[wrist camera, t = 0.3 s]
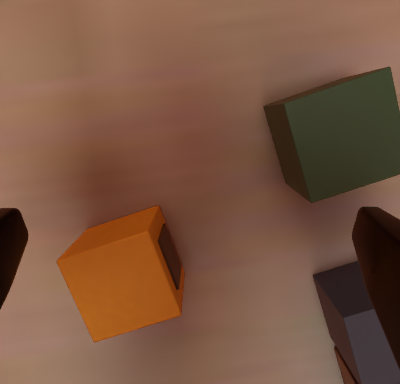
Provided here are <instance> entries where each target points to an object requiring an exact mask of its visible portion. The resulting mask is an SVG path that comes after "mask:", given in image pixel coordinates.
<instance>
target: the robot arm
mask: <svg viewBox="0 0 400 384" xmlns="http://www.w3.org/2000/svg"><path fill="white" fill-rule="evenodd" d="M352 240H353V244H354V247H355V251H356V254H357V258H358V261H359V265H360V269H361V272H362V276H363V279H364V283H365V286H366V289H367V292H368V295H369V297H370V300H371V302H372V305H373V307H374V310H375V312H376V314H377V317H378V319H379V322H380V324H381V327H382V329H383V331H384V334H385V336H386V339H387V341H388V343H389V346H390V348H391V351H392V353H393V355H394V358H395V360H396V363H397V365H398V368H399V370H400V220H399V219H398V218H396V217H394V216H392V215H391V214H389V213H387V212H385V211H384V210H382V209H380V208H378V207H362V208H360V209H359V211H358V214H357V217H356V221H355V224H354V228H353V232H352ZM27 241H28V230H27V228H26V225H25V223H24V220H23V217H22V215H21V212H20V211H19V210H18V209H16V208H1V209H0V309H1V307H2V305H3V303H4V301H5V299H6V297H7V295H8V292H9V290H10V288H11V285H12V283H13V280H14V278H15V275H16V272H17V269H18V266H19V264H20V261H21V258H22V255H23V253H24V250H25V247H26V244H27Z"/></svg>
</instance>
